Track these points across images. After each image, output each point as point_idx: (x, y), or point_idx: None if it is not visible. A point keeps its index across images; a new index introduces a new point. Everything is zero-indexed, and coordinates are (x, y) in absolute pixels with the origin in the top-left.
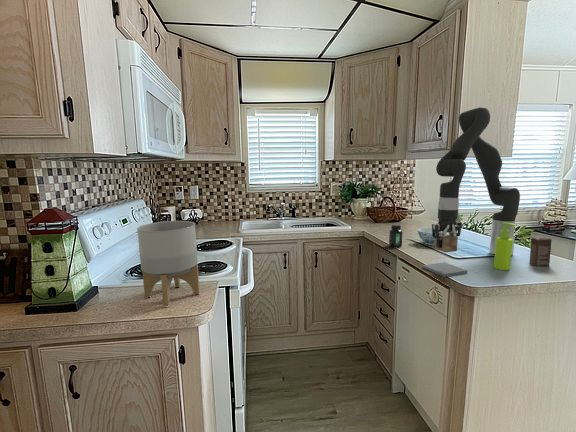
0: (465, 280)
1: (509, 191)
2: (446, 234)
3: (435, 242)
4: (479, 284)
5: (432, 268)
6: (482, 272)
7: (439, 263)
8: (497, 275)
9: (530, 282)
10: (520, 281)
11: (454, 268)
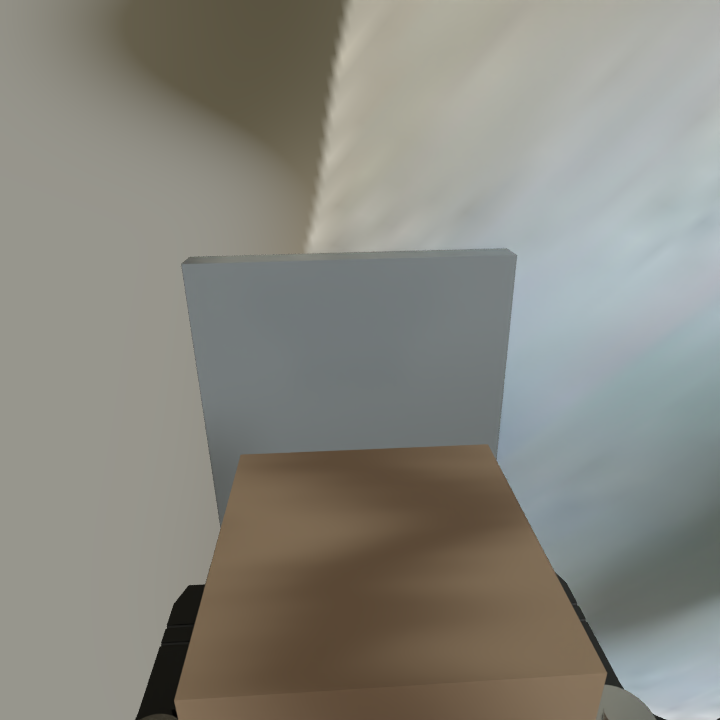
0: None
1: None
2: (564, 700)
3: (219, 554)
4: None
5: (216, 388)
6: (614, 523)
7: (418, 275)
8: (642, 593)
9: (681, 712)
10: (649, 692)
11: None
